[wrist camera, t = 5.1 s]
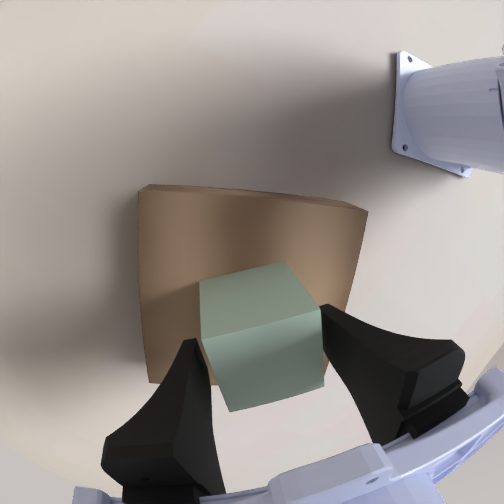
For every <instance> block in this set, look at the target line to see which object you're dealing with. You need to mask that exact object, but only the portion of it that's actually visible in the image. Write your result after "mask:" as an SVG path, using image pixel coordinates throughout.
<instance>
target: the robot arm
mask: <svg viewBox="0 0 504 504" xmlns="http://www.w3.org/2000/svg"><path fill="white" fill-rule="evenodd" d="M502 51H503V54H504V45H503V47H502ZM407 58H408V59H409V61H408V59H407ZM403 145H404V147H405V149H404V151H403ZM392 149H393V151H394V152H396V153H398V154H401V155H405V156H408V157H411V158H414V159H417V160H420V161H423V162H426V163H428V164H431V165H434V166H437V167H439V168H442V169H445V170H447V171H450V172H452V173H455V174H457V175H460V176H462V177H465V178H470V176H471V172H472V168H477V169H482V170H487V171H491V172H496V173H500V174H504V56H501V57H492V58H483V59H476V60H469V61H463V62H457V63H452V64H447V65H441V66H437V67H432V66H431V65H429V64H427V63H425V62H423V61H422V60H420V59H418V58H416V57H414V56H412V55H411V54H409V53H407V52H405V51H400V52H398V53H397V76H396V100H395V114H394V126H393V136H392ZM319 308H320V309H321V324H322V342H323V350H324V353H325V355H326V356H327V358H328V360H329V361H330V363H331V364H332V366H333V367H334V369H335V370H336V372H337V373H338V375H339V376H340V378H341V379H342V381H343V382H344V384H345V385H346V387H347V388H348V390H349V392H350V393H351V395H352V397H353V399H354V401H355V403H356V405H357V407H358V410H359V412H360V414H361V416H362V418H363V420H364V423H365V425H366V427H367V430H368V432H369V434H370V437H371V439H372V442H373V443H368V444H364V445H361V446H358V447H355V448H353V449H350V450H348V451H345V452H343V453H340V454H338V455H335V456H332V457H329V458H327V459H324V460H321V461H318V462H315V463H312V464H309V465H305V466H302V467H299V468H295V469H292V470H289V471H287V472H284V473H281V474H279V475H277V476H276V477H274V478H273V479H271V480H270V481H269V483H268V486H266V487H261V488H257V489H252V490H246V491H241V492H235V493H228V494H226V491H225V487H224V483H223V479H222V475H221V470H220V466H219V461H218V457H217V452H216V446H215V441H214V435H213V426H212V403H211V384H210V378H209V371H208V367H207V365H206V362H205V360H204V357H203V354H202V352H201V349H200V347H199V344H198V341H197V339H196V338H192V339H187V340H183V342H182V344H181V346H180V348H179V350H178V353H177V355H176V357H175V359H174V361H173V363H172V365H171V367H170V369H169V370H168V372H167V374H166V376H165V377H164V379H163V381H162V382H161V384H160V385H159V387H158V388H157V390H156V391H155V393H154V394H153V395H152V397H151V398H150V399H149V400H148V401H147V403H146V404H145V405H144V406H143V407H142V408H141V409H140V410H139V411H138V412H137V413H136V414H135V415H134V416H133V417H132V418H131V419H130V420H129V421H127V422H126V423H125V424H124V425H123V426H121V427H120V428H119V429H117V430H116V431H115V432H113V433H112V434H110V435H109V436H107V437H106V439H105V443H104V447H103V454H102V460H101V467H102V469H103V470H104V471H105V472H106V473H107V474H108V475H109V476H110V477H111V478H113V479H114V480H115V481H117V482H118V483H119V484H120V485H122V486H123V492H122V498H116V497H110V496H109V495H108V494H106V493H105V492H103V491H101V490H98V489H94V488H85V487H78V486H77V487H75V489H74V496H73V502H72V504H446V502H445V501H444V499H443V497H442V496H441V494H440V493H439V491H438V490H437V488H436V486H435V484H436V483H437V482H439V481H440V480H442V479H443V478H445V477H446V476H447V475H449V474H450V473H451V472H453V471H454V470H455V469H456V468H457V467H459V466H460V465H461V464H463V463H464V462H465V461H466V460H467V459H468V458H470V457H471V456H472V455H473V454H474V453H475V452H477V451H478V450H479V449H480V448H481V447H482V446H484V445H485V444H486V443H487V442H488V441H489V440H490V439H491V438H492V437H493V436H494V435H495V434H497V433H498V431H500V430H501V429H502V428H503V427H504V373H503V372H502V371H501V370H500V369H499V368H498V367H497V366H494V367H492V368H491V369H490V370H489V371H487V372H486V373H485V374H484V375H482V376H481V378H480V379H479V380H478V381H477V383H476V385H475V388H474V390H473V391H472V392H471V393H469V394H468V395H467V394H466V393H465V392H464V391H463V390H462V389H461V386H462V382H461V381H460V380H459V379H458V377H459V375H460V372H461V370H462V367H463V364H464V361H465V352H464V350H463V349H461V348H460V347H459V346H458V345H457V344H456V343H455V342H454V341H452V340H436V339H423V338H415V337H409V336H405V335H400V334H396V333H392V332H389V331H386V330H383V329H380V328H377V327H375V326H372V325H370V324H367V323H365V322H363V321H361V320H359V319H357V318H355V317H353V316H351V315H349V314H347V313H345V312H343V311H341V310H339V309H338V308H336V307H334V306H332V305H330V304H324V305H321V306H319Z"/></svg>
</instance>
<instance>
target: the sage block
mask: <svg viewBox="0 0 504 504" xmlns="http://www.w3.org/2000/svg"><path fill="white" fill-rule="evenodd" d="M199 287H200V321H201V340H202V343H203V346H204V349H205V351H206V354H207V357H208V359H209V362H210V365H211V367H212V370H213V372H214V375H215V378H216V380H217V383H218V385H219V388H220V390H221V393H222V395H223V398H224V400H225V402H226V405H227V407H228V410H229V412H233V411H238V410H243V409H247V408H251V407H255V406H260V405H264V404H267V403H271V402H275V401H279V400H282V399H286V398H289V397H293V396H296V395H299V394H303V393H306V392H309V391H312V390H315V389H318V388H321V387H324V365H323V342H322V324H321V309H320V308H319V306H318V305H317V304H316V302H315V301H314V300H313V298H312V297H311V296H310V294H309V293H308V292H307V290H306V289H305V288H304V286H303V285H302V284H301V282H300V281H299V280H298V278H297V277H296V276H295V274H294V273H293V272H292V271H291V269H290V268H289V267H288V265H287V264H286V263H285V261H281V262H277V263H273V264H269V265H265V266H261V267H257V268H253V269H248V270H244V271H240V272H236V273H232V274H227V275H223V276H219V277H215V278H211V279H206V280H202V281H199Z"/></svg>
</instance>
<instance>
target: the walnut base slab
mask: <svg viewBox="0 0 504 504" xmlns="http://www.w3.org/2000/svg"><path fill="white" fill-rule="evenodd" d="M367 216H368V211H366V210H364V209H361V208H359V207H356V206H354V205H351V204H349V203H346V202H343V201H336V200H329V199H321V198H314V197H305V196H297V195H288V194H279V193H269V192H259V191H248V190H237V189H224V188H211V187H195V186H177V185H153V184H149V185H148V186H146V187H144V188H143V189H141V190H140V191H139V194H138V272H139V292H140V307H141V320H142V330H143V340H144V349H145V357H146V365H147V372H148V379H149V383H157V384H161V382H162V381H163V379H164V377H165V376H166V374H167V372H168V370H169V369H170V367H171V365H172V363H173V361H174V359H175V357H176V355H177V353H178V350H179V348H180V346H181V344H182V342H183V340H187V339H192V338H196V339H197V341H198V344H199V347H200V349H201V352H202V354H203V357H204V360H205V362H206V365H207V367H208V371H209V378H210V384H211V385H218V383H217V380H216V378H215V375H214V372H213V370H212V367H211V365H210V362H209V359H208V357H207V354H206V351H205V349H204V346H203V343H202V340H201V321H200V287H199V281H202V280H206V279H211V278H215V277H219V276H223V275H227V274H232V273H236V272H240V271H244V270H248V269H253V268H257V267H261V266H265V265H269V264H273V263H277V262H281V261H285V263H286V264H287V265H288V267H289V268H290V269H291V271H292V272H293V273H294V274H295V276H296V277H297V278H298V280H299V281H300V282H301V284H302V285H303V286H304V288H305V289H306V290H307V292H308V293H309V294H310V296H311V297H312V298H313V300H314V301H315V302H316V304H317V305H318V306H321V305H324V304H330V305H332V306H334V307H336V308H338V309H339V310H341V311H343V312H345V309H346V305H347V302H348V298H349V294H350V291H351V287H352V283H353V279H354V275H355V271H356V267H357V263H358V258H359V254H360V250H361V245H362V240H363V236H364V231H365V226H366V221H367ZM328 363H329V360H328V358H327V356H326V355H325V353H324V350H323V365H324V375H325V372H326V369H327V366H328Z"/></svg>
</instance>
